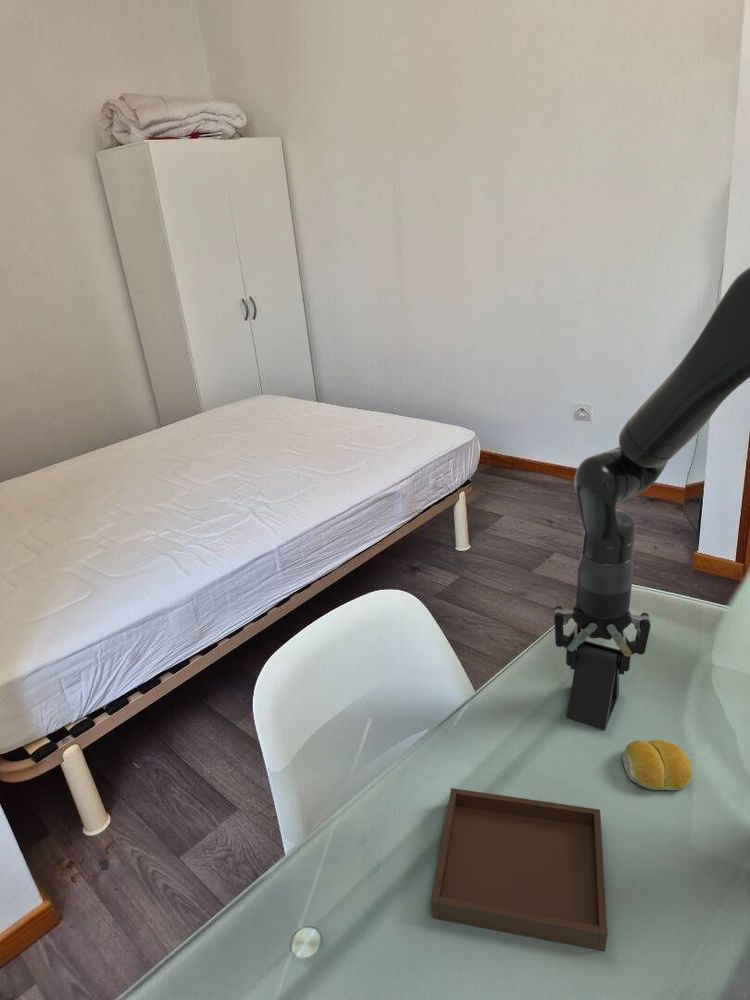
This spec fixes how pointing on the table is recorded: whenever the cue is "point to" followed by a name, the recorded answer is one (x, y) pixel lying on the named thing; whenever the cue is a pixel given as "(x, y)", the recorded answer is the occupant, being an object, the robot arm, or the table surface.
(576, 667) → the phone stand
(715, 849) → the table surface
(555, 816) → the tray
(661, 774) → the bread roll
